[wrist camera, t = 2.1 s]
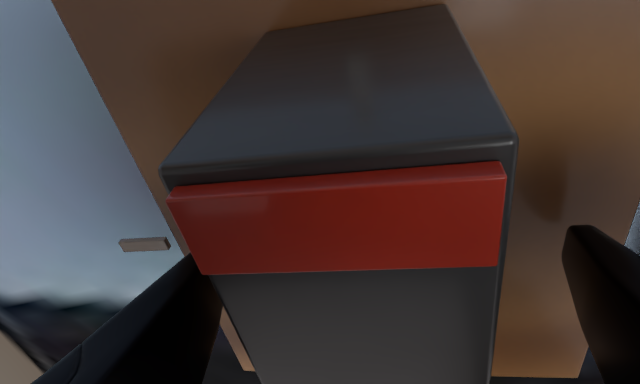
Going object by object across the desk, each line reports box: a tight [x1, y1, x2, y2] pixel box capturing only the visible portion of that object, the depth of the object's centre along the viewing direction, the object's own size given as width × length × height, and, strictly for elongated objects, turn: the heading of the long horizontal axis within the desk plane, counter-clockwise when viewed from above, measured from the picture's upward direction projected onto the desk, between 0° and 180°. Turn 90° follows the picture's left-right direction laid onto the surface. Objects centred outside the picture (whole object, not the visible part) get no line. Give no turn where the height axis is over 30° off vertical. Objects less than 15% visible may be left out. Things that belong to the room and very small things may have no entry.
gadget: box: [158, 4, 520, 384], centre depth 8 cm, size 10×3×5 cm, turn 11°
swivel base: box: [51, 0, 640, 378], centre depth 11 cm, size 14×14×3 cm
